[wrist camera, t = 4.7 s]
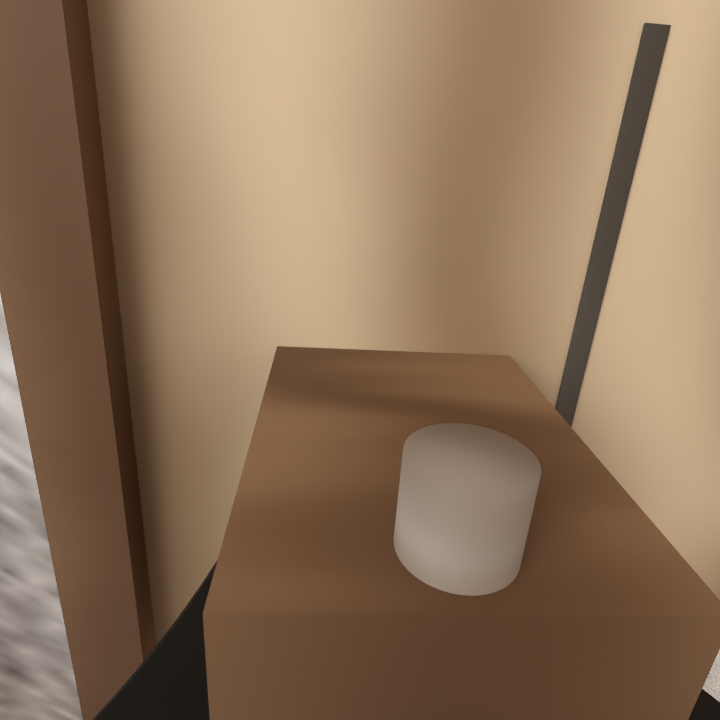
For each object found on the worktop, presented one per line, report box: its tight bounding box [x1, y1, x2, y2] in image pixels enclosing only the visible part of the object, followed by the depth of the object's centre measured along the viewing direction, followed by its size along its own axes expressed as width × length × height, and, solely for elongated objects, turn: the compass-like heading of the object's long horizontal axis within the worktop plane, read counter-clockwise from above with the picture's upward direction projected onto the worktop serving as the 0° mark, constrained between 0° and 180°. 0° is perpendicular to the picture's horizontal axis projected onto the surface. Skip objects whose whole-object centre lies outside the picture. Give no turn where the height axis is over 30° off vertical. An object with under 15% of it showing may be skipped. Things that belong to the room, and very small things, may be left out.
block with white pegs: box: [203, 346, 720, 720], centre depth 9 cm, size 4×10×6 cm, turn 176°
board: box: [0, 0, 720, 720], centre depth 12 cm, size 15×27×3 cm, turn 176°
